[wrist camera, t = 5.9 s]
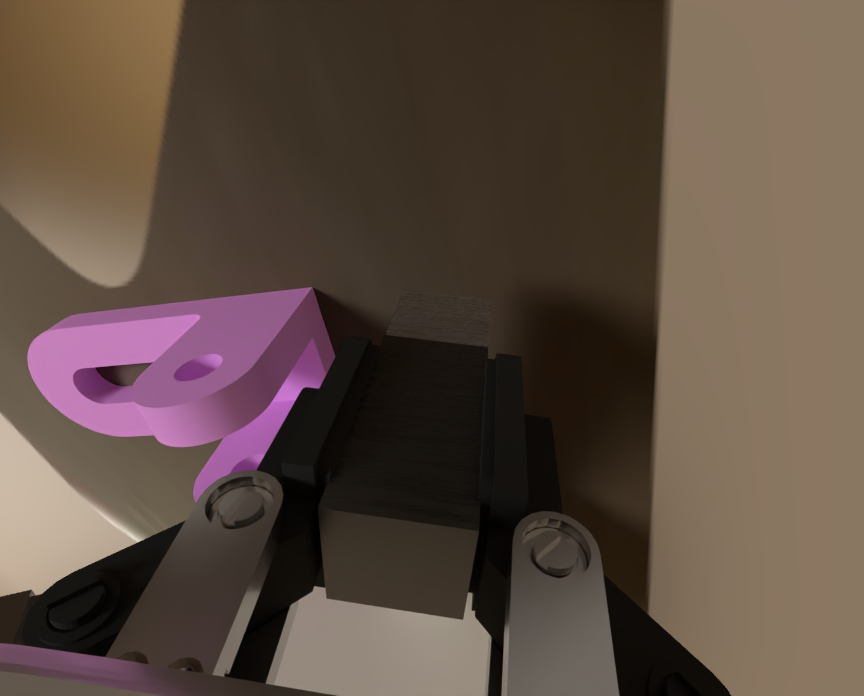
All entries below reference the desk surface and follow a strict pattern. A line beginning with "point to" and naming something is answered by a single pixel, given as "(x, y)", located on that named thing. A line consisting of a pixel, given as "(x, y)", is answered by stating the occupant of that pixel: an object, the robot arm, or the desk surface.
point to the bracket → (190, 371)
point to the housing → (382, 651)
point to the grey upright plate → (412, 465)
